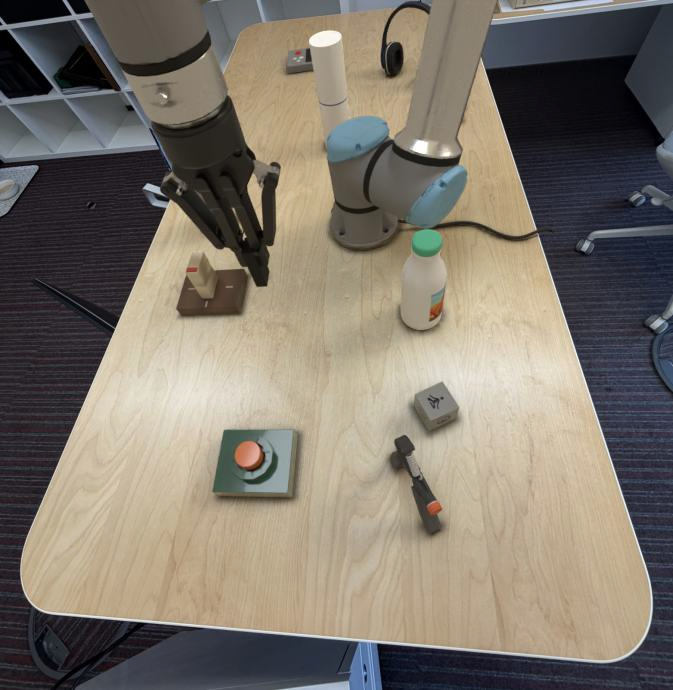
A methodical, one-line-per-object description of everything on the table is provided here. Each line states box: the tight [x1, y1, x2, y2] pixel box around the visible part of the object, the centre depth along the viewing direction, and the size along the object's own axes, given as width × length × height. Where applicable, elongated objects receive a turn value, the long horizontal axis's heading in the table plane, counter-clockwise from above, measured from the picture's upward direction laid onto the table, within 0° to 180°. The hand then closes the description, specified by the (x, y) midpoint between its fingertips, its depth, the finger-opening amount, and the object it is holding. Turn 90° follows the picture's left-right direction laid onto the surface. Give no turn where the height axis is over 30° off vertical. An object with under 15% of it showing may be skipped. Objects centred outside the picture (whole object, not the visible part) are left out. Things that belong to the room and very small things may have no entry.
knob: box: [185, 250, 218, 299], centre depth 83 cm, size 6×2×8 cm, turn 177°
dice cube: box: [413, 381, 460, 432], centre depth 67 cm, size 5×5×5 cm
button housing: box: [211, 429, 299, 498], centre depth 66 cm, size 12×10×5 cm
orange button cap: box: [235, 441, 264, 470], centre depth 63 cm, size 4×4×2 cm
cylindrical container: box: [308, 30, 351, 150], centre depth 99 cm, size 7×7×25 cm
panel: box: [175, 268, 248, 317], centre depth 87 cm, size 13×10×3 cm
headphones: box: [380, 0, 431, 76], centre depth 115 cm, size 20×7×18 cm, turn 54°
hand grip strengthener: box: [389, 434, 443, 536], centre depth 56 cm, size 2×13×15 cm, turn 24°
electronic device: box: [286, 47, 314, 75], centre depth 134 cm, size 10×2×15 cm
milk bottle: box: [400, 228, 448, 331], centre depth 71 cm, size 8×8×20 cm
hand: (263, 279), depth 56 cm, fingers closed
